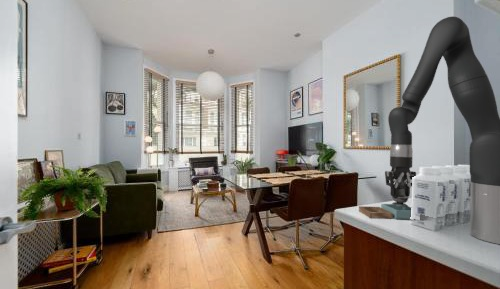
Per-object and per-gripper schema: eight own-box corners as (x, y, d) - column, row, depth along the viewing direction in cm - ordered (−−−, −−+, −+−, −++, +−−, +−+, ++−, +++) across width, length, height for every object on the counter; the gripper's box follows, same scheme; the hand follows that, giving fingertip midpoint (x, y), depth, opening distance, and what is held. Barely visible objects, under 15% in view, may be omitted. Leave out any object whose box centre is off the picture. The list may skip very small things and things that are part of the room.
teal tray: (403, 212, 90) (403, 204, 90) (420, 220, 81) (421, 211, 81) (381, 212, 90) (381, 203, 90) (396, 219, 81) (396, 210, 81)
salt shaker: (399, 202, 89) (400, 174, 89) (412, 206, 83) (413, 177, 83) (387, 203, 88) (388, 174, 88) (399, 207, 82) (400, 176, 82)
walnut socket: (379, 211, 91) (379, 206, 91) (392, 218, 82) (392, 213, 82) (358, 211, 91) (359, 206, 91) (370, 218, 82) (370, 212, 82)
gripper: (395, 155, 80) (394, 199, 80) (423, 156, 84) (423, 198, 84) (379, 155, 88) (378, 194, 88) (405, 155, 91) (404, 193, 91)
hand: (400, 196), depth 86 cm, fingers closed on salt shaker, 6 cm apart
